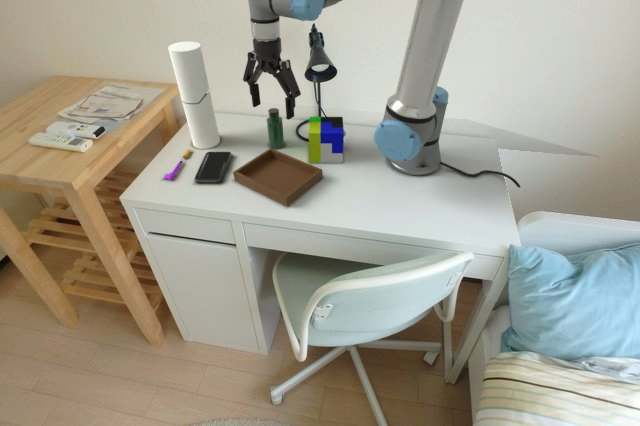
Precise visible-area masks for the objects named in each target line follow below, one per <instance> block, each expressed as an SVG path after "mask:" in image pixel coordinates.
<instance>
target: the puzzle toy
mask: <svg viewBox="0 0 640 426" xmlns="http://www.w3.org/2000/svg"><path fill="white" fill-rule="evenodd" d="M344 138H345V131H344V118H343V116H309V124H308V155H309V157H308V158H309V164H343V163H344V143H345V142H344V140H345V139H344Z"/></svg>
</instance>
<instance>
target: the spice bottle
mask: <svg viewBox="0 0 640 426" xmlns="http://www.w3.org/2000/svg"><path fill="white" fill-rule="evenodd" d="M267 111H268V117H267V118H266V127H267V136H268V144H269V145H268V146H269V147H270V148H271V149H274V150H278V149H279V150H280V149H283V147H284V146H285V135H284V124H283V118H282V116H280V109H279V108H277V107H272V108H269V109H268V110H267Z"/></svg>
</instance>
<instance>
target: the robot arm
mask: <svg viewBox="0 0 640 426" xmlns="http://www.w3.org/2000/svg"><path fill="white" fill-rule="evenodd" d="M342 1H343V0H247V2H248V8H249V15H250V16H249V18H250V28H251V37H252V38H253V39H252V46H253V50H251V51H248V52H247V60H246V65H245V70H244V73H243V78H242V81H243V82H244V83H247V85H248V88H249V94H250V96H251V102H252V107H253V108H257V107H258V106H261V104H262V103H261V94H260V85H259V83H258V80H259V79H260V77H261V75H262V74H263V73H265V74H266V73H267V74H269V75H272V77H273V78H274V79H276V81H277V82H278V85H279V86H280V87H281V89H282V91H283V92H284V94H285V96H286V97H285V99H284V101H285V102H284V103H285V117H286V120H287V121H289V120H291V119H293V118H294V117H295V108H296V98H299V97H300V96H302V92H301V90H300V88H299V85H298V82H297V80H296V76H295V75H294V72H293V69H292V63H291V60H290V59H282V58H281V57H282V56H281V54H282V51H283V47H282V39H281V20H280V17H283V18H289V19H294V20H298V21H301V22H307V21H308V22H314V21H316V20H318V19H319V16H320V15H321V14H322V12H323V10H324V9H327V8H329V7H332V6H334V5H337V4H339V3H340V2H342ZM464 1H465V0H417V2H416V6H415V9H414V13H413V18H412V21H411V22H412V23H411V27H410V30H409V35H408V40H407V44H406V48H405V52H404V56H403V61H402V65H401V70H400V73H399V76H398V77H399V78H398V82H397V86H396V91H395V93H394V94H392V95H390V96H389V97H388V99H387V101H386V106H385V110H384V114H383V118H382V121H380V122H379V123H378V125H377V126H376V128H375V130H374V133H373V140H374V144H375V146H376V148H377V149H378V150H379V153H381V154H382V155H383V156H384V157H386V158H387V160H388V163H389V165H390V166H391V168H393V169H394V170H395V171H397V172H399V173H402V174H405V175H408V176H409V175H410V176H418V177H419V176H427V175H431V174H433V173H435V172H437V170H439V168H440V166H444V167H447V168H449V169H450V170H453V171H455V172H457V173H459V174H462V175H463V176H466V177H473V178H474V177H478V176H481V175H484V174H494V175H499V176H502V177H505V178H507V179H509V180H510V181H512V183H514V184H515V186H516V187H517V188H518V189H519V188H521V185H520V183H519V182H518V181H517V180H516V179H515V178H513V176H510V174H507V173H504V172H500V171H496V170H488V169H486V170H481V171H480V172H477V173H467V172H465V171H463V170H460V169H459V168H457V167H455V166H452V165H450V164H447V163H445V162H442V161H441V160H442V159H441V157H442V156H441V150H440V142H439V140H440V136H441V132H442V128H443V124H444V120H445V116H446V111H447V107H448V104H449V91H447V90H446V89H445V88H444V87H442V86H439V85H438V83H439V80H440V78H441V74H442V70H443V68H444V65H445V61H446V58H447V54H448V52H449V48H450V45H451V42H452V39H453V36H454V33H455V30H456V27H457V24H458V19H459V17H460V13H461V10H462V7H463V3H464ZM256 63H257V65H256Z"/></svg>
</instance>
